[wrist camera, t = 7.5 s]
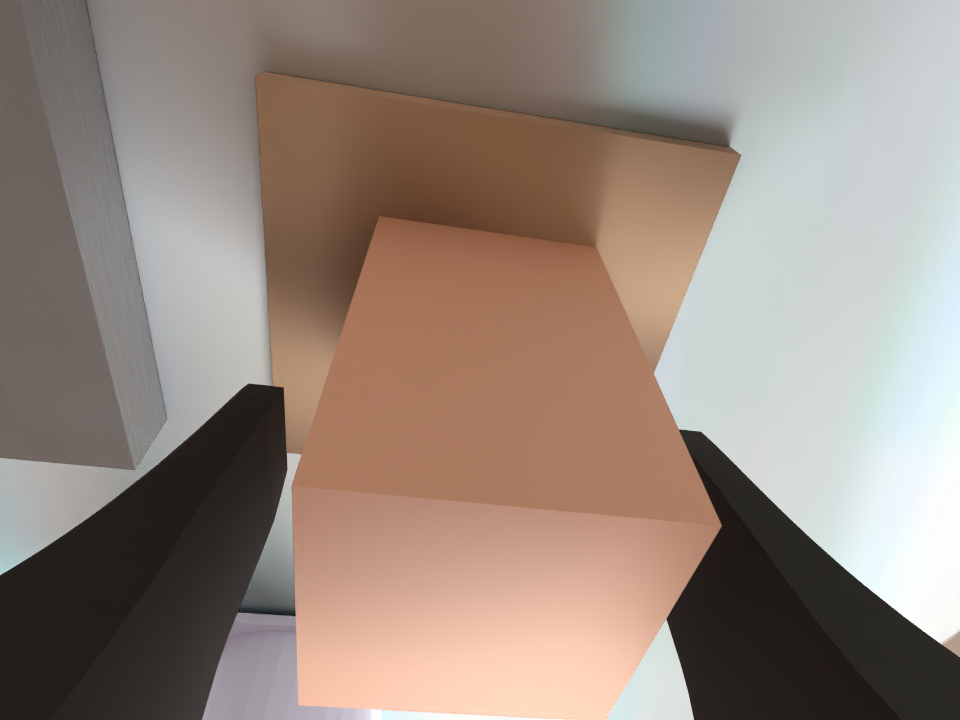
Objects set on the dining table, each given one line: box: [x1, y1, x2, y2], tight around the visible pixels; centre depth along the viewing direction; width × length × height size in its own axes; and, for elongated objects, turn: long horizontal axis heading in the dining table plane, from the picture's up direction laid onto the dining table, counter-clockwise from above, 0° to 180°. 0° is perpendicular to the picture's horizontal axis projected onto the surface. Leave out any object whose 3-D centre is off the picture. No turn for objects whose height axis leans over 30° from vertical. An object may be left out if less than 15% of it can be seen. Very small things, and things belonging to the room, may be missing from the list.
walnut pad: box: [255, 72, 741, 454], centre depth 15 cm, size 10×10×1 cm
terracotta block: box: [292, 216, 722, 720], centre depth 11 cm, size 5×5×8 cm
